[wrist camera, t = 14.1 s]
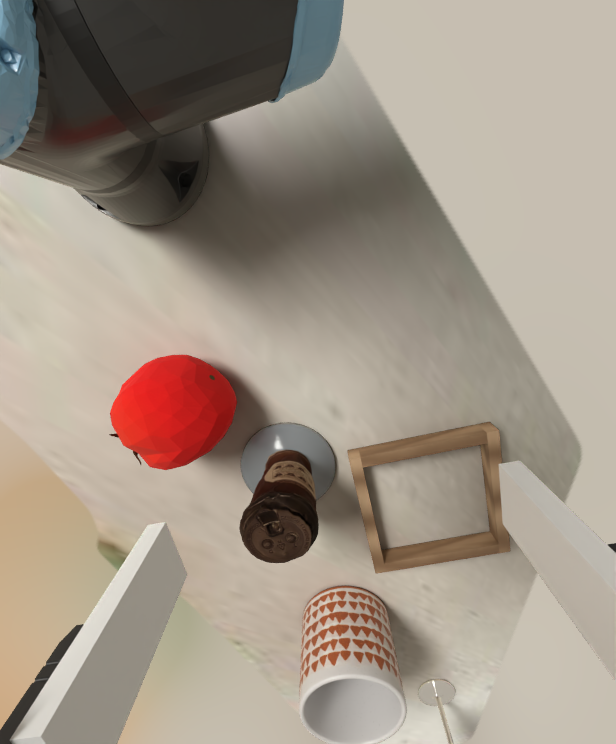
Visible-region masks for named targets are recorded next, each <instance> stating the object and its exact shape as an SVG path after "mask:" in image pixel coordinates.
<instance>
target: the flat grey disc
mask: <svg viewBox="0 0 616 744" xmlns="http://www.w3.org/2000/svg"><path fill="white" fill-rule="evenodd" d="M282 450H294V451H298V452H300V453H301V454H303V455H304V456H305V457H307V459H308V460H309V462H310V464H311V469H312V477H313V481H314V484H315V495H316V500H317V499H319V498H320V497H321V496H323V495H324V494H325V492H326V491H327V490H328V489H329V487H330V486H331V484H332V481H333V478H334V475H335V460H334V455H333V452H332V450H331V448H330V446H329V444H328V443H327V441H326V440H325V439H324V438H323V437H322V436H321V435H320V434H319V433H317V432H316V431H314V430H313V429H311V428H309V427H307V426H304V425H301V424H296V423H278V424H273V425H270V426H268V427H265V428H263V429H262V430H260V431H258V432H257V433H256V434H255V435H254V436H253V437H252V438H251V439H250V440H249V441H248V443H247V445H246V446H245V449H244V451H243V454H242V458H241V472H242V476H243V479H244V481H245V483H246V485H247V486H248V488H249V489H250V490H251V492H252V493H253V494H254V491H255V488H256V486H257V484H258V482H259V481H260V480H261V478H262V476H263V474H264V471H265V464H266V462H267V460H268V457H269V456H270V455H272V454H274V453H275V452H277V451H282Z"/></svg>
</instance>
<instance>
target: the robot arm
mask: <svg viewBox="0 0 616 744" xmlns="http://www.w3.org/2000/svg"><path fill="white" fill-rule="evenodd" d="M343 4H344V0H0V164H2V165H5V166H8V167H11V168H14V169H17V170H20V171H23V172H27V173H30V174H33V175H36V176H39V177H42V178H45V179H48V180H51V181H54V182H57V183H60V184H63V185H67V186H70V187H73V188H74V189H75V190H76V191H77V192H78V193H79V194H80V195H81V196H82V197H83V198H84V199H85V200H87V201H88V202H89V203H90V204H91V205H92V206H94V207H95V208H96V209H98V210H99V211H101V212H102V213H104V214H106V215H108V216H110V217H112V218H114V219H117V220H119V221H123V222H126V223H131V224H135V225H141V226H156V225H161V224H165V223H168V222H170V221H173V220H175V219H177V218H178V217H180V216H181V215H183V214H184V213H185V212H186V211H187V210H188V209H189V208H190V207H191V206H192V205H193V204H194V202H195V201H196V200H197V198H198V196H199V195H200V193H201V191H202V189H203V186H204V183H205V180H206V176H207V172H208V164H209V149H208V141H207V136H206V132H205V128H204V125H203V123H206V122H209V121H212V120H215V119H217V118H220V117H223V116H226V115H229V114H232V113H235V112H237V111H240V110H243V109H246V108H249V107H252V106H255V105H257V104H260V103H263V102H266V101H268V102H270V103H275V102H278V101H279V100H280V99H281V98H283V97H284V96H285V94H287V93H290V92H292V91H295V90H297V89H300V88H302V87H304V86H307V85H309V84H312V83H314V82H316V81H317V80H318V79H320V78H321V77H322V76H323V74H324V73H325V71H326V70H327V68H328V67H329V66H330V65H331V63H332V61H333V58H334V56H335V53H336V49H337V46H338V41H339V36H340V31H341V23H342V15H343ZM499 477H500V492H501V506H502V520H503V525H504V527H505V528H506V529H507V531H508V532H509V534H510V535H511V536H512V538H513V539H514V541H515V542H516V543H517V545H518V546H519V547H520V549H521V550H522V552H523V553H524V554H525V556H526V557H527V559H528V560H529V561H530V563H531V564H532V566H533V567H534V568H535V570H536V571H537V573H538V574H539V575H540V577H541V578H542V580H543V581H544V582H545V584H546V585H547V587H548V588H549V589H550V591H551V592H552V594H553V595H554V596H555V598H556V599H557V601H558V602H559V603H560V605H561V606H562V608H563V609H564V610H565V612H566V613H567V615H568V616H569V617H570V619H571V620H572V622H574V624H575V625H576V627H577V629H578V630H579V631H580V633H581V634H582V635H583V637H584V638H585V640H586V641H587V642H588V644H589V645H590V647H591V648H592V649H593V651H594V652H595V653H596V655H597V656H598V658H599V659H600V661H601V662H602V663H603V665H604V666H605V668H606V669H607V670H608V672H609V673H610V675H611V676H612V677H613V679H614V680H615V682H616V543H615V544H608V545H607V544H606V543H605V542H604V541H603V540H602V539H601V538H600V537H599V536H597V535H596V534H595V533H594V532H593V531H592V530H591V529H590V528H589V527H588V526H587V525H586V524H585V523H584V522H583V521H582V520H581V519H580V518H579V517H578V516H577V515H576V514H575V513H574V512H573V511H572V510H571V509H570V508H568V507H567V506H566V505H565V504H564V503H563V502H562V501H561V500H560V499H559V498H558V497H557V496H556V495H555V494H554V493H553V492H552V491H551V490H550V489H549V488H548V487H547V486H546V485H545V484H544V483H543V482H542V481H541V480H540V479H539V478H538V477H536V476H535V475H534V474H533V473H532V472H531V471H530V470H529V469H528V468H527V467H526V466H525V465H524V464H523V463H522V462H521V461H520V460H519V461H514V462H508V463H502V464H499ZM186 576H187V572H186V570H185V567H184V565H183V562H182V560H181V558H180V555H179V553H178V550H177V548H176V546H175V543H174V541H173V538H172V536H171V534H170V531H169V529H168V526H167V524H166V522H163V523H157V524H151V525H148V526H147V527H146V529H145V530H144V532H143V534H142V535H141V537H140V538H139V540H138V541H137V543H136V544H135V546H134V547H133V549H132V551H131V552H130V554H129V555H128V557H127V558H126V560H125V561H124V563H123V565H122V566H121V568H120V569H119V571H118V572H117V574H116V575H115V577H114V579H113V580H112V582H111V583H110V585H109V586H108V588H107V589H106V591H105V593H104V594H103V596H102V597H101V599H100V600H99V602H98V604H97V605H96V607H95V608H94V610H93V611H92V613H91V615H90V616H89V617H88V619H87V621H86V622H85V624H82V625H76V626H75V627H74V628H73V629H72V631H71V632H70V633H69V634H68V635H67V636H66V637H65V638H64V639H63V640H62V641H61V642H60V643H59V644H58V646H57V647H56V649H55V650H54V652H53V653H52V655H51V656H50V658H49V659H48V660H47V662H46V666H44V667H43V668H42V669H41V671H40V672H39V674H38V675H37V677H36V678H35V682H34V683H32V684H31V686H30V687H29V689H28V690H27V691H26V693H25V694H24V696H23V697H22V699H21V700H20V702H19V703H18V705H17V706H16V708H15V709H14V711H13V712H12V714H11V715H10V717H9V718H8V720H7V721H6V722H5V724H4V725H3V727H2V729H1V730H0V744H117V743H118V740H119V738H120V735H121V733H122V731H123V728H124V726H125V723H126V721H127V718H128V716H129V714H130V711H131V709H132V707H133V704H134V702H135V699H136V697H137V695H138V692H139V689H140V687H141V685H142V682H143V680H144V678H145V675H146V673H147V670H148V668H149V665H150V663H151V661H152V658H153V656H154V654H155V651H156V649H157V646H158V644H159V641H160V639H161V637H162V634H163V632H164V629H165V627H166V625H167V622H168V620H169V617H170V615H171V613H172V610H173V608H174V605H175V603H176V601H177V598H178V596H179V593H180V591H181V588H182V586H183V584H184V581H185V579H186Z"/></svg>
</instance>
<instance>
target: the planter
mask: <svg viewBox="0 0 616 744" xmlns="http://www.w3.org/2000/svg"><path fill="white" fill-rule="evenodd" d="M406 713H407V707H406V701H405V696H404V691H403V686H402V681H401V676H400V671H399V666H398V661H397V656H396V652H395V647H394V642H393V637H392V632H391V627H390V622H389V617H388V613H387V610H386V608H385V606H384V604H383V603H382V602H381V600H380V599H379V598H378V597H376V596H375V595H374V594H372V593H371V592H369V591H367V590H364V589H362V588H358V587H352V586H338V587H333V588H329V589H326V590H324V591H322V592H320V593H318V594H317V595H316V596H314V597H313V598H312V599H311V600H310V601H309V603H308V604H307V606H306V608H305V610H304V613H303V624H302V647H301V670H300V693H299V715H300V719H301V721H302V723H303V725H304V726H305V728H306V729H307V730H308V731H309V732H310V733H311V734H312V735H313V736H315V737H316V738H318V739H319V740H321V741H323V742H325V743H328V744H377V743H380V742H382V741H384V740H386V739H388V738H390V737H391V736H392V735H394V734H395V733H396V732H397V731H398V730H399V729H400V728H401V726H402V725H403V723H404V721H405V718H406Z"/></svg>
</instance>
